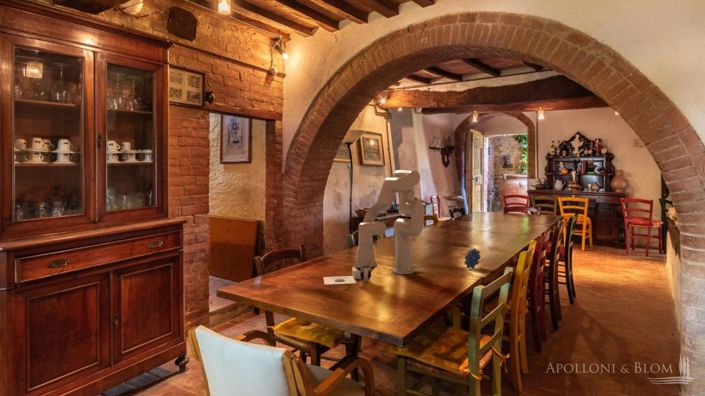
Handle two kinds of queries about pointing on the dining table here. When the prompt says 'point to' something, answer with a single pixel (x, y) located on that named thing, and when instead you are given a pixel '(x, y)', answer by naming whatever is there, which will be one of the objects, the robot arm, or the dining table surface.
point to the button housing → (356, 273)
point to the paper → (339, 280)
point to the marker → (365, 274)
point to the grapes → (472, 258)
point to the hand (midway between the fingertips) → (365, 278)
